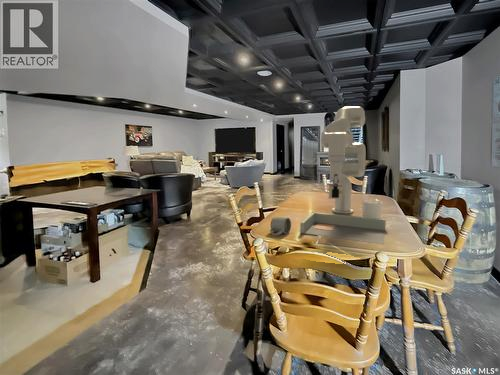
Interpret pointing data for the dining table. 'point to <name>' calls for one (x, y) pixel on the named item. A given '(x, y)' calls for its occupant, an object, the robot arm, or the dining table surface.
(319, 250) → the dining table surface
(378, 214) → the candle holder
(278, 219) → the ceramic mug
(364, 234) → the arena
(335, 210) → the robot arm
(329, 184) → the birch cube
